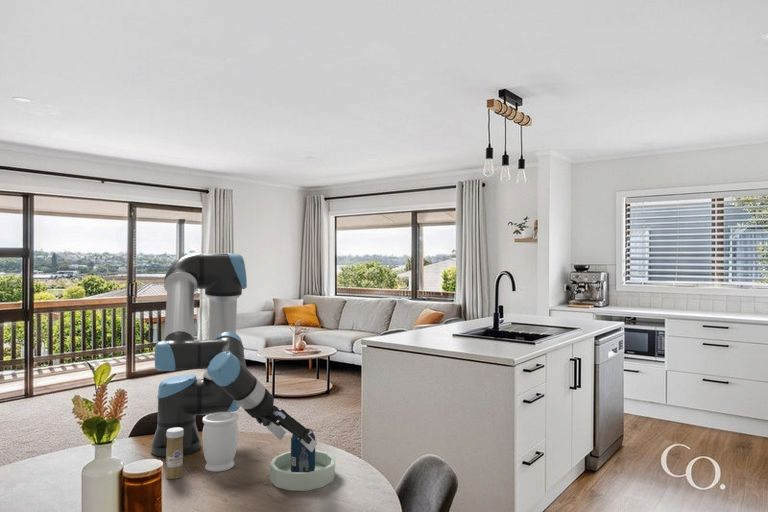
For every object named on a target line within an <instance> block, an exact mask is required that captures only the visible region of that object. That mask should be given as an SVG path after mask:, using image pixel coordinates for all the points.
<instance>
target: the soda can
mask: <svg viewBox="0 0 768 512" xmlns="http://www.w3.org/2000/svg"><path fill="white" fill-rule="evenodd" d="M305 428H306V429H308V430H309V431H310V432H309V433H308V434H309V435H310V436H311V437H312V438H313V439H314V440H315V441H316V436H315V434H314V430H313V429H311V428H307V427H305ZM315 450H316V447H315V448H314V450H313V452H310V451H309V450H308V449H307V448H306V447H305V446H304V445H303V444H302V443H301V442H299V441H298V437H296V436H295V435H294V434H292V436H291V437H290V451H291V472H311V471H314V470H315Z"/></svg>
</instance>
